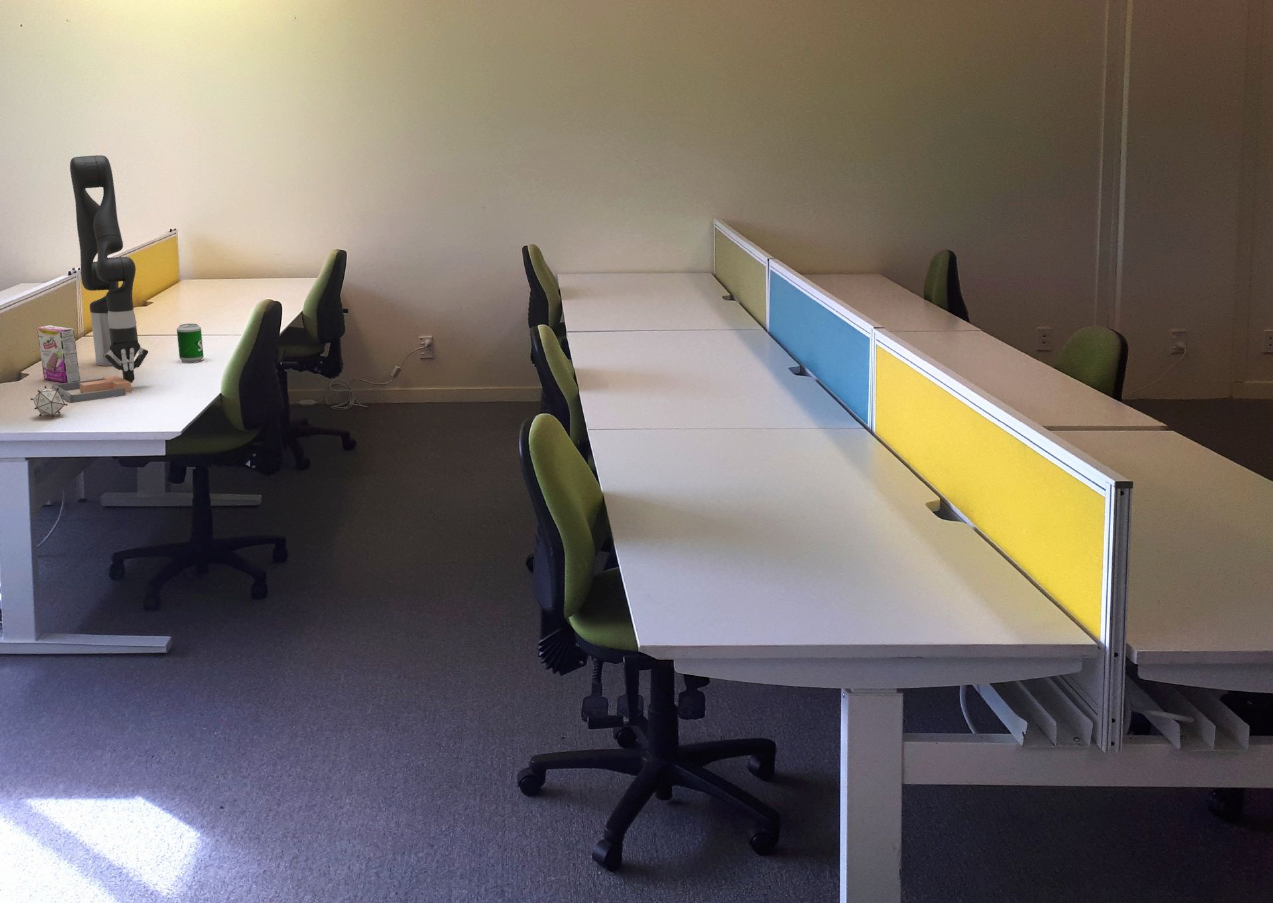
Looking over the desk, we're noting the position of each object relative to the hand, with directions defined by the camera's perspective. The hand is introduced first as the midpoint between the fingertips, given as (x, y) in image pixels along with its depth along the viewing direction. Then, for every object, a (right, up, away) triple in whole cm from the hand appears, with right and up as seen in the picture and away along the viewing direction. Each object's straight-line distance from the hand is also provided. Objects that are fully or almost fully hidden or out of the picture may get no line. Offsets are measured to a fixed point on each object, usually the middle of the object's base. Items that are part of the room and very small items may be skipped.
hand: (129, 382), depth 364 cm
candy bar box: (-25, +1, +10) cm, 27 cm away
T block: (-6, -3, -4) cm, 8 cm away
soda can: (+5, +9, +39) cm, 41 cm away
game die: (-8, -11, -33) cm, 35 cm away
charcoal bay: (-8, -3, -6) cm, 11 cm away
